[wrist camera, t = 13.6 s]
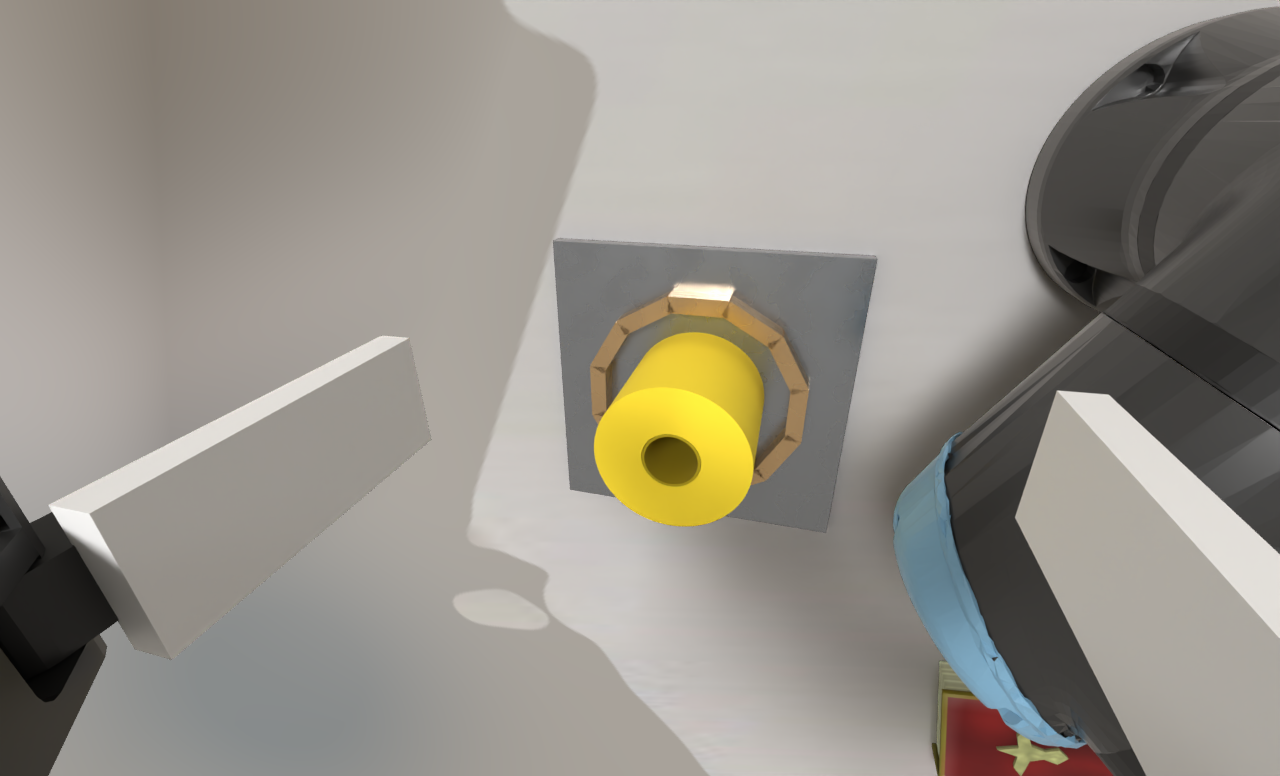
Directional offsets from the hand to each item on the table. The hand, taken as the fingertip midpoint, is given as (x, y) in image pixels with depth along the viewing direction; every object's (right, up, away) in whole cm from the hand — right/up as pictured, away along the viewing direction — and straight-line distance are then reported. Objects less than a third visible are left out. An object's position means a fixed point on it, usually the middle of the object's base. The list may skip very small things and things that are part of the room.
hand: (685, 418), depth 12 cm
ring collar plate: (+4, +1, +32) cm, 32 cm away
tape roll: (+4, 0, +31) cm, 31 cm away
